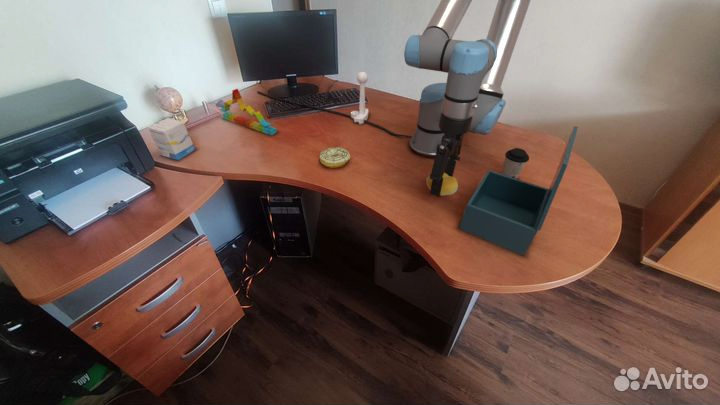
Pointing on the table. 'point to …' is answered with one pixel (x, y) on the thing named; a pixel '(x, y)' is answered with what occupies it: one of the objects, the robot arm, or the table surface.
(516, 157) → the coffee cup
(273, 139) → the table surface
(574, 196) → the table surface
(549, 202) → the lid
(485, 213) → the dark teal hollow box
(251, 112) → the colourful triangular block frame
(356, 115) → the joystick
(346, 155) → the decorated donut
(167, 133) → the ink box
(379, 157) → the table surface
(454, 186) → the bread roll
